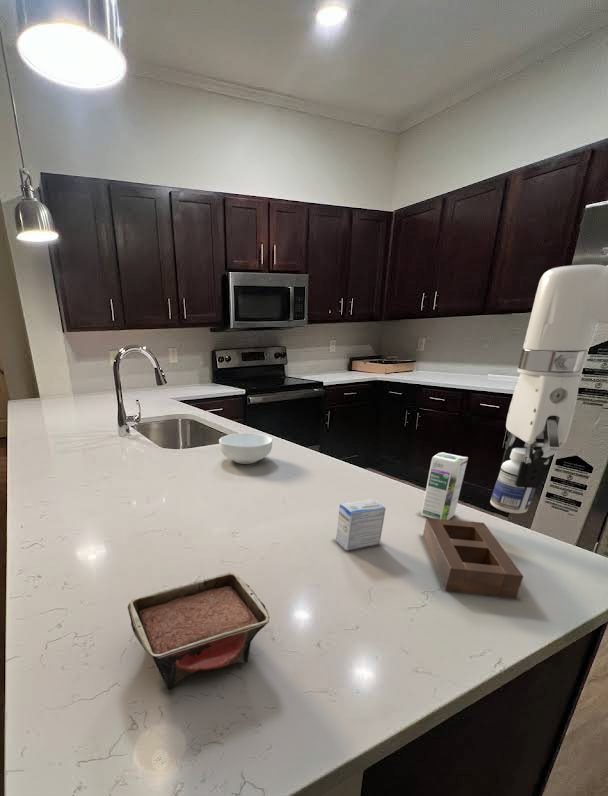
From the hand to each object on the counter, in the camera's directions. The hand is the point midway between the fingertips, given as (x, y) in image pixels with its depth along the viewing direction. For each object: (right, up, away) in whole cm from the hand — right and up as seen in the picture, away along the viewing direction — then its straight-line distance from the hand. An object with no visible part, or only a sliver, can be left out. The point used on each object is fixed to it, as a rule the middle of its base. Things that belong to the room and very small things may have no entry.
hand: (518, 478), depth 67 cm
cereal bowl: (-41, +9, +68) cm, 80 cm away
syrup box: (+2, -8, +30) cm, 31 cm away
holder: (-2, -16, +11) cm, 19 cm away
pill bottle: (0, -5, +2) cm, 5 cm away
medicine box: (-20, -13, +19) cm, 30 cm away
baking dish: (-51, -25, -7) cm, 57 cm away
